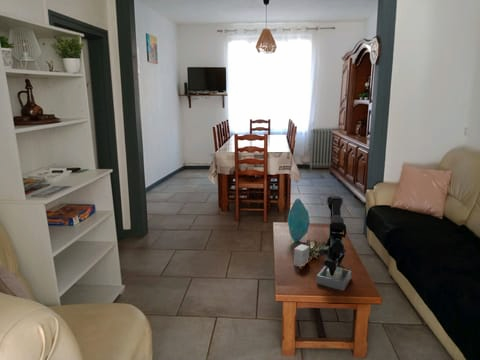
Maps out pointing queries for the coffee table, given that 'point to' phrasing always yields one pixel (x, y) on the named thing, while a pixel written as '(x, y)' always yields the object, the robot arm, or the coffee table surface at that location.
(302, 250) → the small box
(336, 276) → the sage crate
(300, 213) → the teal pointed ovoid
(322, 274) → the grey crate
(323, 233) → the coffee table surface
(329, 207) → the robot arm
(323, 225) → the coffee table surface
